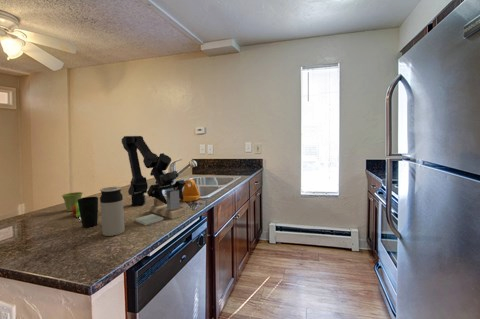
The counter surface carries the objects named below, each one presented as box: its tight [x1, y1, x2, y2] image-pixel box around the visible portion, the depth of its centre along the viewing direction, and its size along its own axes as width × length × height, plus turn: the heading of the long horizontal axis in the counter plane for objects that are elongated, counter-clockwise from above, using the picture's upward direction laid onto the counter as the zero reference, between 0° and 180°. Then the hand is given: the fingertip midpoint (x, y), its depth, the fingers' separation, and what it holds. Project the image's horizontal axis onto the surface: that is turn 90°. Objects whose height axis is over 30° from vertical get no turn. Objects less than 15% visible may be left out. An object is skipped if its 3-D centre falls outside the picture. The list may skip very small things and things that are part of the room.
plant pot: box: [61, 191, 83, 212], centre depth 138 cm, size 9×9×9 cm
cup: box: [78, 196, 99, 229], centre depth 111 cm, size 8×8×12 cm
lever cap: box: [165, 189, 181, 211], centre depth 124 cm, size 4×5×9 cm
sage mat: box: [134, 213, 164, 226], centre depth 117 cm, size 9×9×1 cm
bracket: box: [179, 178, 201, 202], centre depth 154 cm, size 11×7×12 cm, turn 82°
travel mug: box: [99, 186, 126, 237], centre depth 102 cm, size 8×8×18 cm
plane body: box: [149, 197, 186, 220], centre depth 128 cm, size 20×7×6 cm, turn 49°
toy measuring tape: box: [71, 203, 82, 223], centre depth 125 cm, size 6×20×7 cm, turn 35°
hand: (174, 201), depth 123 cm, fingers open, 9 cm apart
